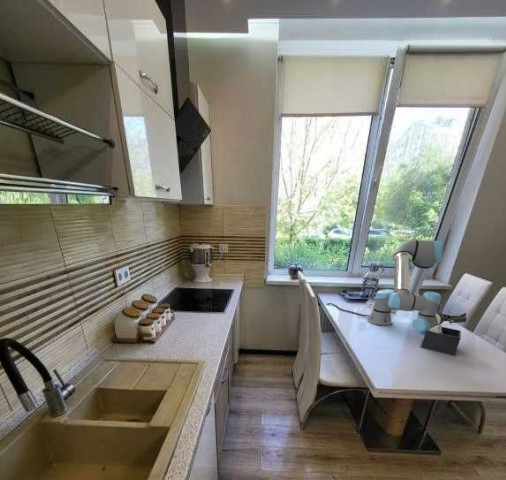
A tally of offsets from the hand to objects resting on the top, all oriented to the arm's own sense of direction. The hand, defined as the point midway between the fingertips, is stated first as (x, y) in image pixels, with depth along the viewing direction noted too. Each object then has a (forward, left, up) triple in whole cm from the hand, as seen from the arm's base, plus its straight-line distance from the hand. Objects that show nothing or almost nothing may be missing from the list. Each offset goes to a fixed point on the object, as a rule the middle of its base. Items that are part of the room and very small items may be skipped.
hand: (451, 311), depth 156 cm
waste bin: (-1, -2, -22) cm, 22 cm away
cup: (-9, +17, -22) cm, 29 cm away
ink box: (-1, -2, -20) cm, 20 cm away
